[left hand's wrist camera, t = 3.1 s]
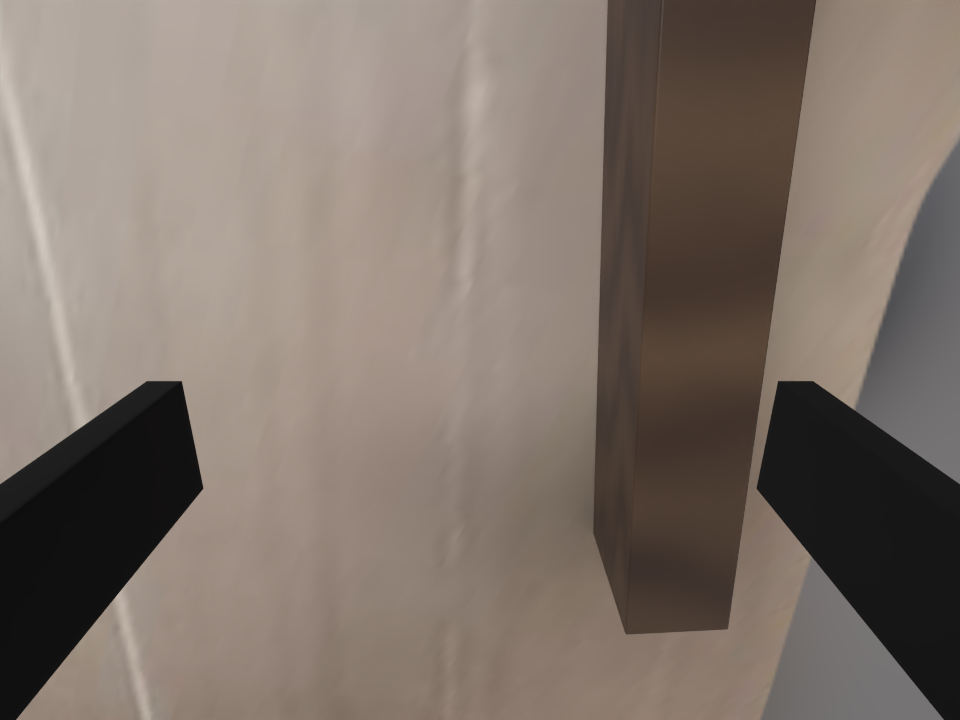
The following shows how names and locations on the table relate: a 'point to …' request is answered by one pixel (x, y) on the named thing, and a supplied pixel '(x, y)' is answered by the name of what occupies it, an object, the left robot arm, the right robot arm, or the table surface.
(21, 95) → the table surface
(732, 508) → the beam
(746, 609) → the table surface
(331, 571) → the table surface
